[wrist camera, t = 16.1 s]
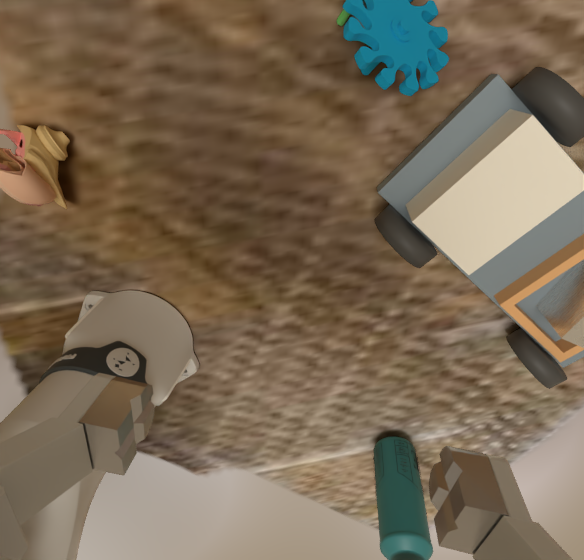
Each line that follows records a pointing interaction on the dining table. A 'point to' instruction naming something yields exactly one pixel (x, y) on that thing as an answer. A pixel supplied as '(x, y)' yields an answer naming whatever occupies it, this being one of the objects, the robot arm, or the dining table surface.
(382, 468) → the beverage bottle
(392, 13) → the gear
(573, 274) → the block
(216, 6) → the dining table surface
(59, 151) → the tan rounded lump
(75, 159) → the dining table surface
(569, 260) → the chassis
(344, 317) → the dining table surface
